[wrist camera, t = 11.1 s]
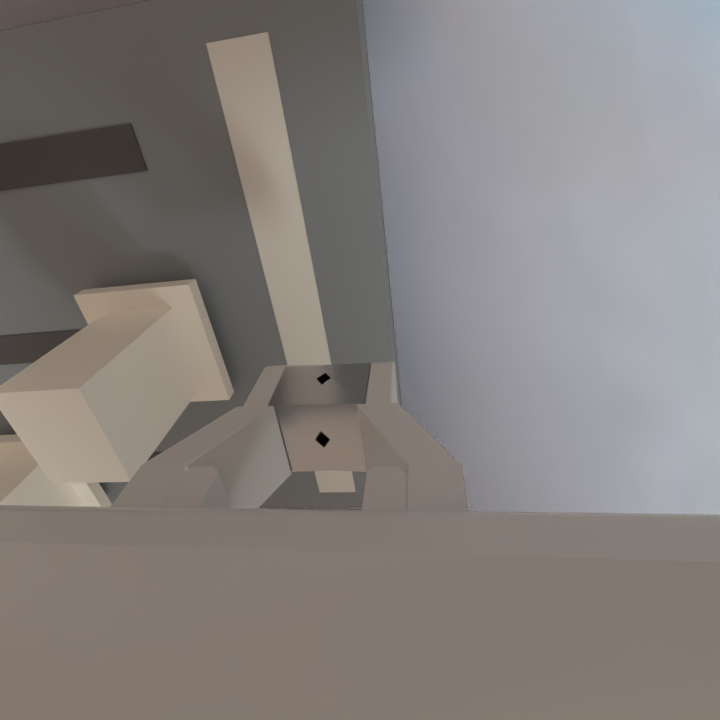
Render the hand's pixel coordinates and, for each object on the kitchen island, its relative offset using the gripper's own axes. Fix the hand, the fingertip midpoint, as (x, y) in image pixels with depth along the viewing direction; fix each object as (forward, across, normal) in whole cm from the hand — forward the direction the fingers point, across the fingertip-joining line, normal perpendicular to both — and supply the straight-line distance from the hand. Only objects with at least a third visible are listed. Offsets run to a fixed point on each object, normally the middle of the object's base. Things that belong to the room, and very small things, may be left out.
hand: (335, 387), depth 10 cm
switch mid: (+4, +7, +1) cm, 8 cm away
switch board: (+6, +11, +1) cm, 13 cm away
